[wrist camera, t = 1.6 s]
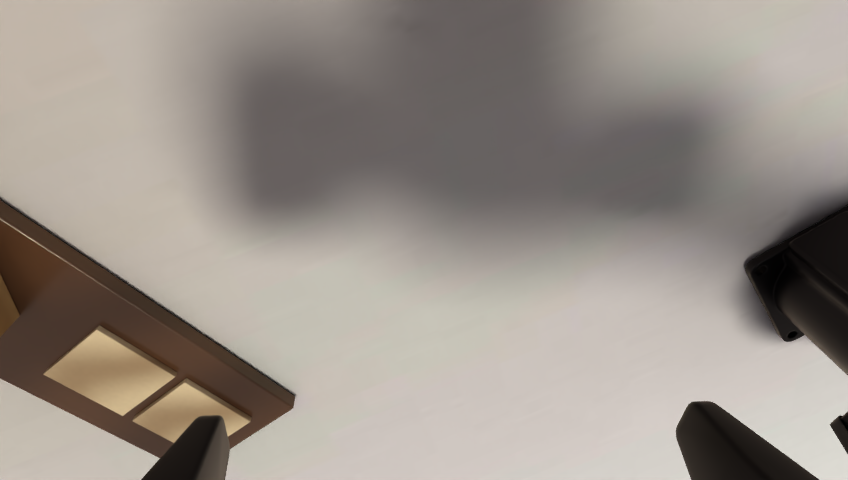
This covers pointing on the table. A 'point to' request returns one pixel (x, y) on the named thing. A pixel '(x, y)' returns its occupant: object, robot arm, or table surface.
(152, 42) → the table surface
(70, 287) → the board
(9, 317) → the tall tan block
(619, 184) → the table surface
